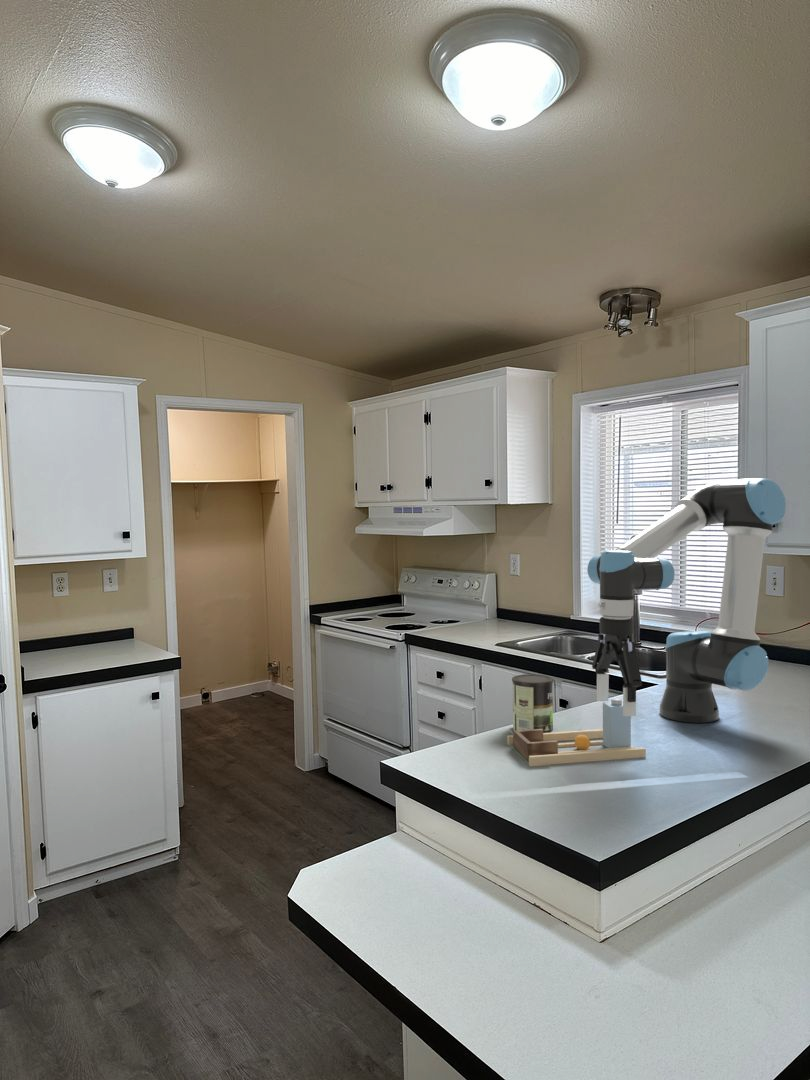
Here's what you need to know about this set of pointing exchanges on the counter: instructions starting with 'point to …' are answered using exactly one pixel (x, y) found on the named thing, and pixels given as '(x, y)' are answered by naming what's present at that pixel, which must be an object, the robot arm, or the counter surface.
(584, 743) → the ball
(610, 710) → the block
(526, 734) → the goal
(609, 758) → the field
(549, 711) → the coffee can
